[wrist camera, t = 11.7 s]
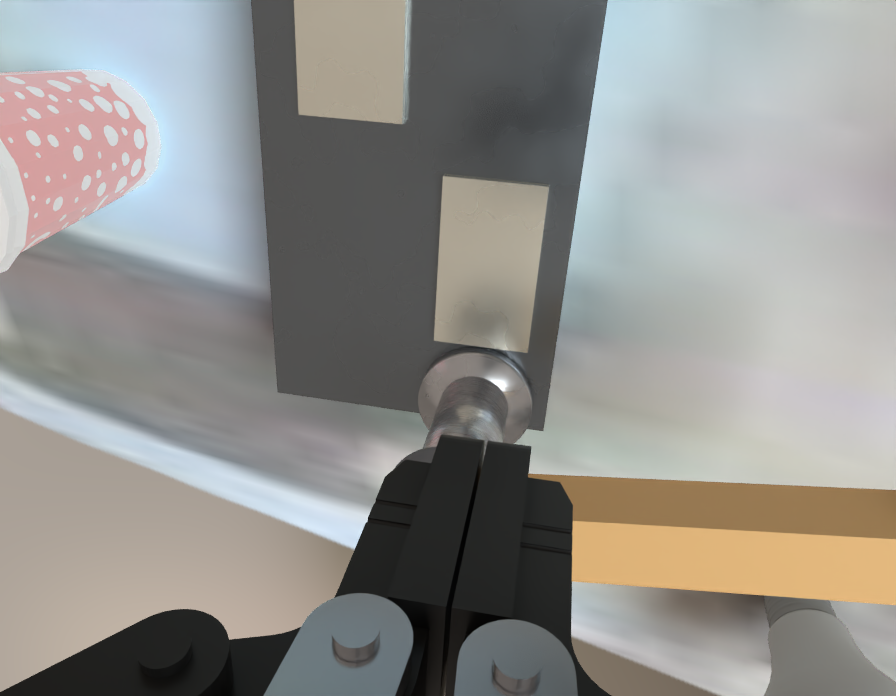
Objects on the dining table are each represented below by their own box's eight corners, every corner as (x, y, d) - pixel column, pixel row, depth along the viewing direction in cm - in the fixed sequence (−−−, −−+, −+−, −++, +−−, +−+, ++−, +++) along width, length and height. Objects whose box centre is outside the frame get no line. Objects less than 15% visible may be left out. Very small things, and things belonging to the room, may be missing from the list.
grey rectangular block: (294, -177, 21) (107, -292, 13) (627, -165, 20) (660, -284, 11) (315, 365, 30) (212, 506, 21) (544, 397, 28) (530, 560, 20)
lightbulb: (694, 560, 31) (746, 815, 21) (833, 514, 29) (962, 778, 19) (751, 647, 33) (821, 919, 23) (886, 611, 30) (1028, 897, 21)
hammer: (967, 459, 16) (1024, 526, 14) (931, 570, 18) (977, 645, 16) (384, 437, 19) (359, 492, 17) (397, 536, 21) (377, 596, 19)
